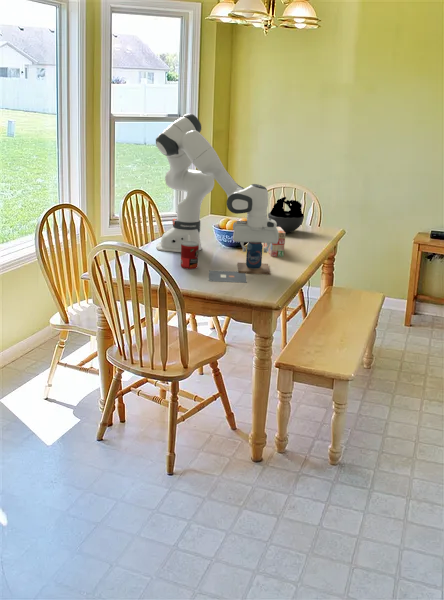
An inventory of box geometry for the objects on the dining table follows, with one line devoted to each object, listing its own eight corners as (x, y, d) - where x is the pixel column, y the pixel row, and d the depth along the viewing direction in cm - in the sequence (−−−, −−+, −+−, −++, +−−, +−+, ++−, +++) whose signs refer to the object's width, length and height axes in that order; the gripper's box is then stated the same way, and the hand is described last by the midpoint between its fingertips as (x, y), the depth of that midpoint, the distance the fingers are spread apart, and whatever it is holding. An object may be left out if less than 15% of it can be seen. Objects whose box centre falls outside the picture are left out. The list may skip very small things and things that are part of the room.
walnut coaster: (238, 273, 301) (238, 270, 301) (237, 264, 314) (237, 262, 314) (270, 274, 301) (270, 272, 301) (267, 265, 315) (267, 263, 314)
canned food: (191, 270, 302) (192, 246, 299) (177, 266, 306) (177, 243, 302) (201, 266, 308) (202, 242, 305) (186, 263, 312) (187, 240, 309)
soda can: (247, 269, 303) (249, 243, 299) (244, 265, 310) (246, 239, 306) (262, 269, 304) (264, 243, 301) (259, 265, 311) (261, 239, 307)
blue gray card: (208, 281, 287) (208, 280, 287) (209, 270, 303) (209, 270, 303) (246, 282, 288) (246, 282, 288) (245, 272, 303) (245, 271, 303)
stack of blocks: (263, 245, 351) (264, 222, 347) (275, 246, 352) (276, 222, 348) (271, 256, 331) (272, 231, 327) (283, 256, 332) (285, 232, 328)
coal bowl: (299, 237, 372) (302, 203, 366) (263, 233, 377) (265, 200, 371) (305, 230, 390) (308, 197, 384) (271, 226, 395) (273, 194, 389)
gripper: (233, 222, 298) (231, 252, 302) (280, 224, 298) (277, 254, 303) (233, 219, 304) (231, 249, 308) (278, 221, 304) (276, 251, 309)
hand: (254, 251), depth 305 cm, fingers open, 8 cm apart
